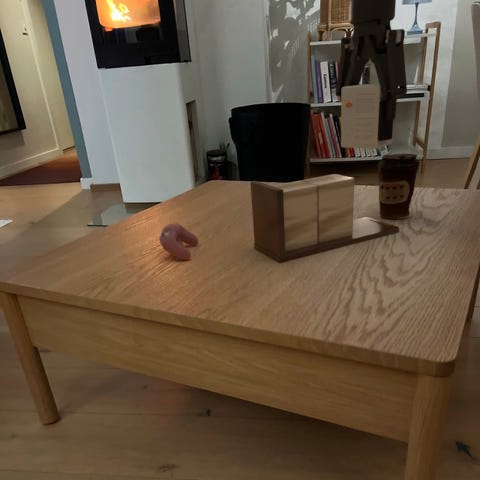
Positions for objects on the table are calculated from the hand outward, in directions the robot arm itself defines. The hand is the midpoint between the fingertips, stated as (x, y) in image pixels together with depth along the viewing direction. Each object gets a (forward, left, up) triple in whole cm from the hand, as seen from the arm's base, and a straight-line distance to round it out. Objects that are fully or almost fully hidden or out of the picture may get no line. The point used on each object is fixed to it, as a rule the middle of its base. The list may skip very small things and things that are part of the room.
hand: (366, 137), depth 89 cm
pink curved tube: (+12, +36, -19) cm, 42 cm away
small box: (0, 0, -2) cm, 2 cm away
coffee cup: (+4, -12, -19) cm, 23 cm away
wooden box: (0, +9, -18) cm, 20 cm away
